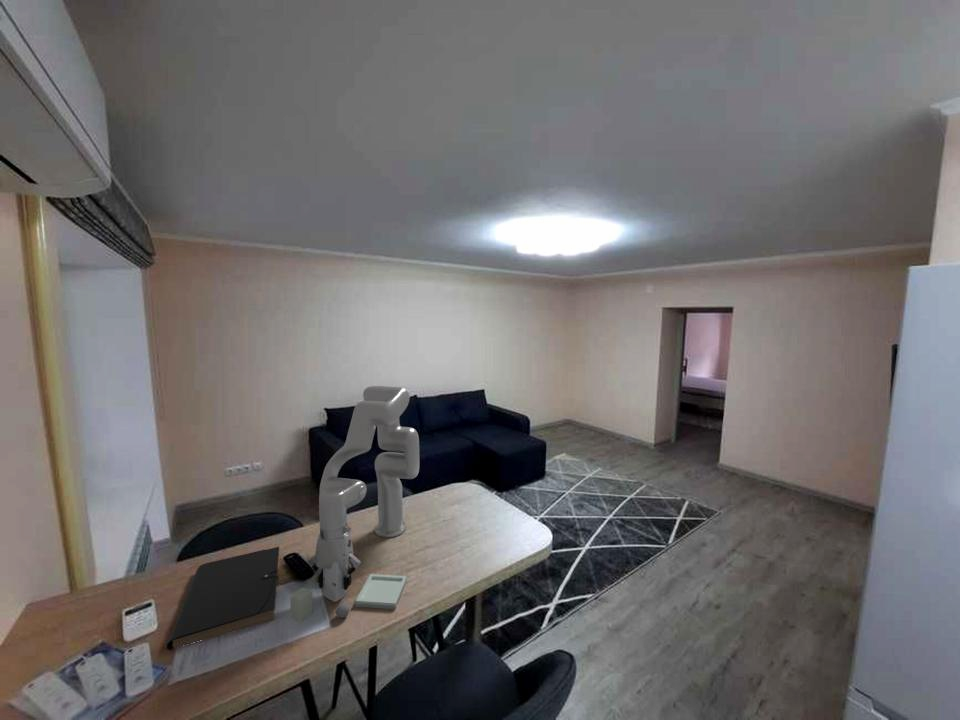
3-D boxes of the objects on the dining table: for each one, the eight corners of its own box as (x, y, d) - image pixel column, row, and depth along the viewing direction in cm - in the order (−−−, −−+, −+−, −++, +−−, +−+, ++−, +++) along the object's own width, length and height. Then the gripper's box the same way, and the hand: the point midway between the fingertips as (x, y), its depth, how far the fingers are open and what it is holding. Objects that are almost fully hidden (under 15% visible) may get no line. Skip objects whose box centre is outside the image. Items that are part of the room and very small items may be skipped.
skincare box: (322, 595, 115) (321, 558, 114) (334, 587, 119) (333, 550, 118) (336, 603, 112) (335, 564, 111) (348, 594, 116) (347, 556, 115)
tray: (370, 579, 123) (370, 573, 122) (406, 581, 122) (406, 576, 121) (355, 606, 111) (355, 600, 110) (395, 609, 110) (395, 603, 110)
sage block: (303, 606, 110) (302, 587, 110) (313, 611, 109) (312, 591, 108) (291, 616, 107) (290, 596, 106) (301, 620, 105) (300, 600, 105)
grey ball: (339, 611, 109) (339, 599, 108) (351, 611, 108) (351, 600, 108) (333, 620, 105) (333, 608, 105) (346, 621, 105) (346, 609, 105)
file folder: (275, 607, 105) (165, 639, 95) (276, 621, 106) (167, 654, 95) (279, 545, 135) (196, 564, 124) (280, 556, 135) (197, 576, 125)
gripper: (366, 525, 116) (367, 579, 118) (312, 522, 118) (313, 576, 119) (356, 538, 109) (357, 596, 111) (298, 535, 110) (300, 592, 112)
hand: (334, 585), depth 115 cm, fingers closed on skincare box, 7 cm apart
